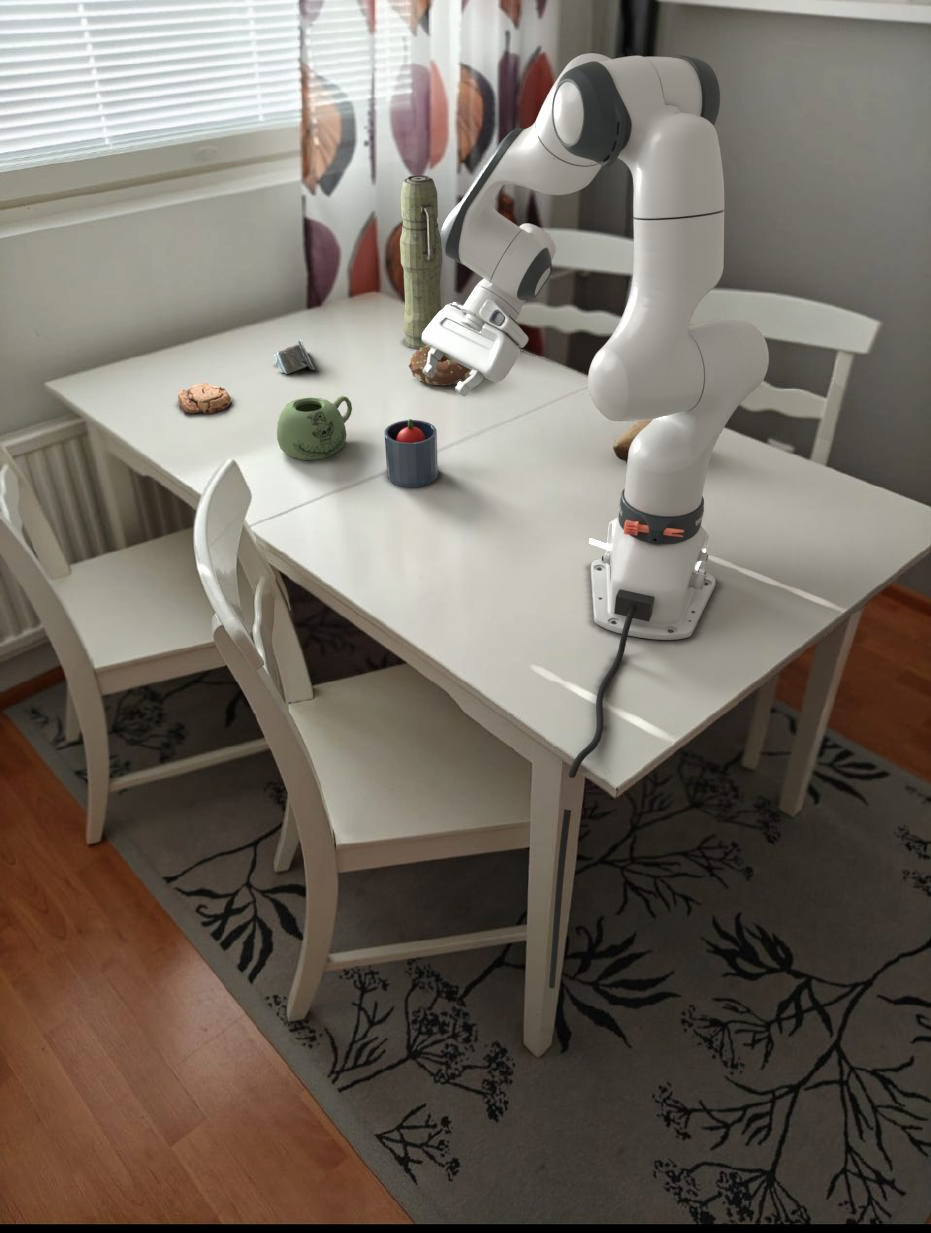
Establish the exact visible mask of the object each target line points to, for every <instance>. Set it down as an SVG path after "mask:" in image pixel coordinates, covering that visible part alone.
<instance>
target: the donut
mask: <svg viewBox="0 0 931 1233" xmlns="http://www.w3.org/2000/svg"><path fill="white" fill-rule="evenodd" d="M430 349H431V348H430V347H428V346H425V347H423V348H422V347H421V348H420V349H417V350H416V351H415V352H414V353H413V354H412V355H411V357H410V364H408V368H409V369H410V372H411V374H412V376H413V377H414V378H417V379H418V380H419V381H421V382H423V383H424V384H428V385H434V386H450V385H457V384H458V383H459V381H461V382H464V381H465V380H466V379H467V378H469V377H470V376H471V375H470V374H469V373H470V372H471V370H470V369H468V368H466V367H465V366H463V365H461V364H459V363H457V362H455V361H453V360H451V359H449V358H448V357H446V356H444V355H443V357H442V358H441V360H438V361H437V365H436V370H438V371H437V373H436V374H435V375H434V377H433V378H430V377H428V376H426V375H425V374H424V373H423V369H424V367H425V366H426V364H427V358H428V352H429V351H430Z"/></svg>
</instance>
